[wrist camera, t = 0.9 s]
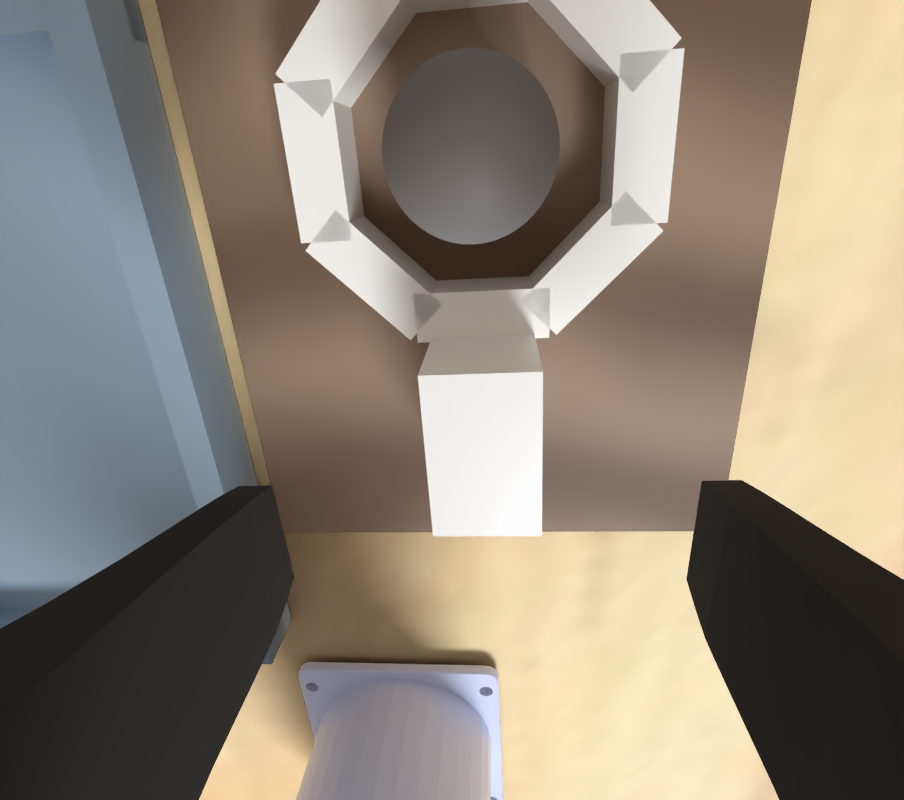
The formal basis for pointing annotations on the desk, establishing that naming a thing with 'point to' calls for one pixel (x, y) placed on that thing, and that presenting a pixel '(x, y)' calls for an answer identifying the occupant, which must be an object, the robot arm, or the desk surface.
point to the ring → (486, 299)
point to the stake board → (494, 250)
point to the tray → (99, 310)
